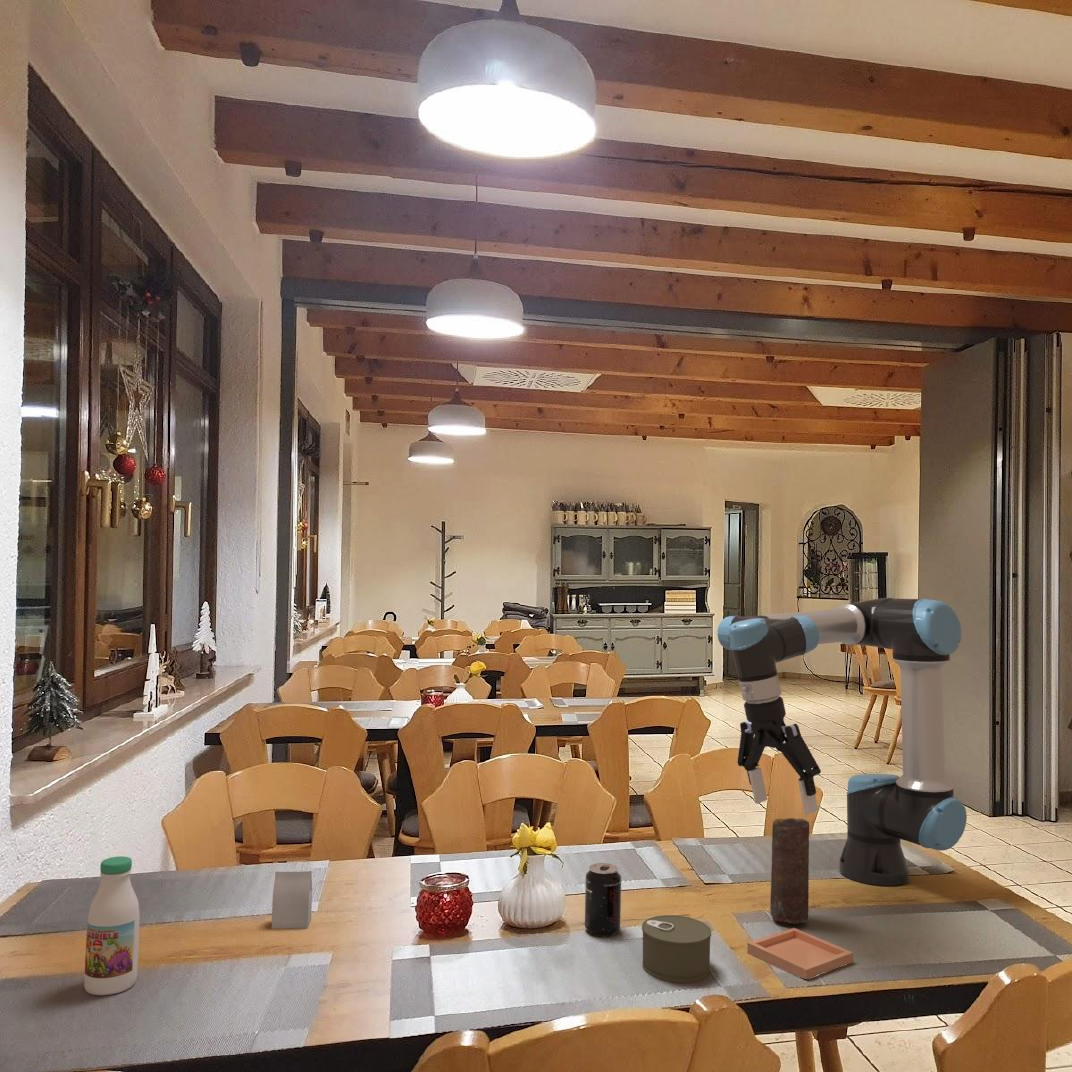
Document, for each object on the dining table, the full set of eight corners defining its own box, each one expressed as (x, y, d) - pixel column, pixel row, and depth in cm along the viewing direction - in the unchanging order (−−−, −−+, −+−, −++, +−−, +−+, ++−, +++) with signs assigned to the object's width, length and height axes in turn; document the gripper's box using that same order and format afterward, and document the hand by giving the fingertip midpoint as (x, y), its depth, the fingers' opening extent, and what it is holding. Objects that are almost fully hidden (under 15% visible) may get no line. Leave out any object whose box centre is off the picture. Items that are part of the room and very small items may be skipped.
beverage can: (625, 928, 169) (626, 865, 170) (613, 941, 163) (614, 876, 163) (592, 921, 172) (593, 860, 173) (579, 934, 166) (580, 870, 166)
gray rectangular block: (307, 928, 166) (309, 874, 166) (271, 928, 165) (273, 875, 166) (311, 920, 169) (312, 868, 170) (275, 921, 169) (277, 868, 169)
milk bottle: (95, 975, 145) (101, 852, 146) (144, 974, 145) (149, 852, 146) (75, 997, 137) (81, 867, 138) (126, 996, 138) (132, 867, 139)
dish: (793, 937, 167) (793, 927, 167) (852, 962, 156) (853, 952, 156) (747, 952, 159) (747, 942, 159) (806, 980, 149) (806, 969, 149)
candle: (810, 931, 170) (811, 826, 171) (771, 927, 171) (772, 824, 172) (806, 916, 177) (807, 816, 178) (769, 913, 179) (770, 813, 180)
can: (695, 990, 144) (696, 948, 145) (629, 972, 151) (630, 931, 151) (720, 964, 154) (721, 924, 155) (658, 948, 161) (658, 909, 161)
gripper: (706, 701, 179) (728, 803, 178) (795, 707, 157) (820, 823, 157) (734, 691, 183) (755, 791, 182) (824, 696, 161) (849, 810, 160)
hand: (785, 806), depth 169 cm, fingers open, 13 cm apart
